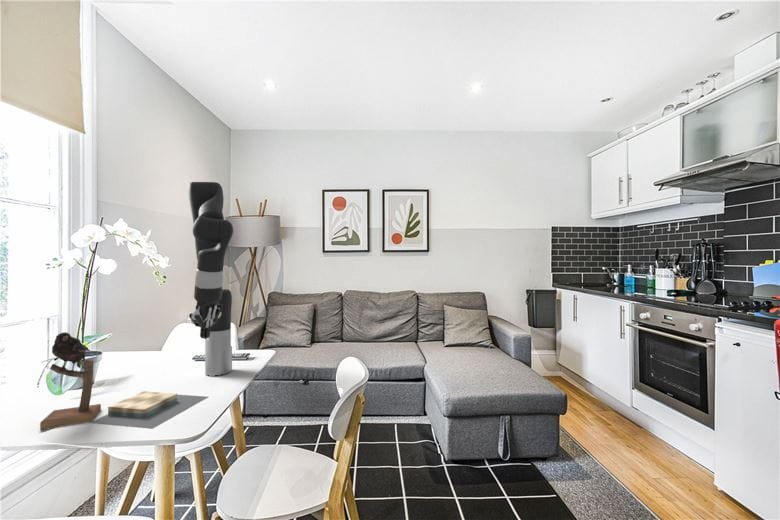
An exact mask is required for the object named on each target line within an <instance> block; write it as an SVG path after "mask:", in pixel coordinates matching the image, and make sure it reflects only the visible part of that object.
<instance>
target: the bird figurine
mask: <svg viewBox="0 0 780 520" xmlns="http://www.w3.org/2000/svg"><path fill="white" fill-rule="evenodd" d="M51 352H52V354H53V355H54V356H55V357H56V358H58V359H60V360H61V361H63V365H62V366H59V365H57V364H55V363H52V365H51V366H50V367H49V370H51V371H53V372H54V373H57V374H59V375H65V376H66V377H73V378H81V379H82V389H81V397H80V402H79V406H77V407H75V406H74V407H68V408H61V409H60V408H59V409H55V410H53V411H52V412H51V413H49V414H48V415H47V416H46V417H44V419H42V420H41V421H40V423H39V425H40V426H39V429H40V431H43V430H42V429H44V430H49V429H48V428H50V429H56V428H58V427H60V426H66V425H67V426H68V425H74V424H80V423H87V422H92V421H94V420H95V417H96V416H97V415H98V414H99V413H100V412H101V410H102V406H101V405H102V404H101V403H98V404H91V405H90V402H91V399H92V390H93V380H94V378H93V377H94V360H92V359H91V360H86V355H85V354H86V353H89V352H91V350H90V349H89V347H87V346H86V345H85V344H83V343H82V342H81V340H80V339H79V338H76V337H73V336H71V334H70V333H69V332H60V333H58V334H57V335H55V340H54V342H53V345H52V347H51ZM67 362H70V363H72V368H71V369H67V367H65V365H66V363H67ZM75 364H76V366H77V368H79V369H81V366H82V369H83V371H80V370H74V369H75V368H74V367H75ZM55 427H56V428H55Z"/></svg>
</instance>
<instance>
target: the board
mask: <svg viewBox="0 0 780 520" xmlns="http://www.w3.org/2000/svg"><path fill="white" fill-rule="evenodd" d="M177 395H178V393H171V392H161V391H160V392H159V391H158V392H157V391H142V392H140V393H136V394H135V395H132V396H130V397H128V398H126V399H123V400H120V401H118V402H116V403H114V404H111V405H109V406H108V407H107V414H108V415H113V416H125V417H137V418H146V417H148V416H149V415H151V414H153V413H155V412H157V411H159V410H161V409H163V408H165V407H167V406H169V405H171V404H173V403H175V402H177Z"/></svg>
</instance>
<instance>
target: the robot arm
mask: <svg viewBox="0 0 780 520" xmlns="http://www.w3.org/2000/svg"><path fill="white" fill-rule="evenodd" d="M187 193H188V199H189V204H190V205H189V207H190V210H191V216H192V222H193V226H192V236H193V237H194V241H195V253H196V260H197V267H196V272H195V280H194V294H193V298H194V300H195V301H196V305H195V311H194V312H193V313H189V315H188V317H189V319H190V320H191V321H192V323H193V324H194V326H195V327H199V328H200V330H199V332H200V333H199V336H200V338H201V339H204V347H205V348H204V356H205V357H204V359H205V360H204V366H205V368H204V369H205V372H204V374H205V375H206V376H208V375H209V376H210V377H215V375H218V376H222V375H221V374H223V375H226V373H227V374H229V373H231V371H232V370H233V347H232V328H231V326H232V305H233V304H232V303H233V296H232V292H231V290H230V289H228V288H224V289H223V286H224V285H223V284H224V263H225V255H226V251H227V249H228V247H229V244H230V241H231V239H232V238H233V233H234V227H233V224H232V222H230V221H229V220H226V219H225V217H224V213H223V209H224V201H225V200H224V190H223V187H222V185H221V184H220V183H219V182H215V181H191V182H190V183H189V184H188V191H187ZM228 372H229V373H228ZM209 376H208V377H209Z"/></svg>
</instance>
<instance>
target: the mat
mask: <svg viewBox="0 0 780 520" xmlns="http://www.w3.org/2000/svg"><path fill="white" fill-rule="evenodd" d="M208 398H209V396H204V395H190V394H189V395H188V394H177V402H175V403H173V404H171V405H169V406H167V407H165V408H163V409H161V410H159V411H157V412H155V413H153V414H151V415H149V416H148V417H146V418H137V417H125V416H113V415H108V413H107V414H105V415H103V416H101V417H99V418H97V419H93V420H92V421H89V424H95V425H106V426H107V425H108V426H116V427H117V426H119V427H126V428H127V427H130V428H137V429H138V428H139V429H155V428H157V427H158V426H160V425H162V424H164V423H165V422H167V421H168V420H169V421H170V420H171V419H172V418H174V417H176V416H178V415H180V414H181V413H183V412H185V411H186V410H188V409H190V408H192V407H193V406H195V405H197V404H200V403H201V402H202V401H205V400H206V399H208Z"/></svg>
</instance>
